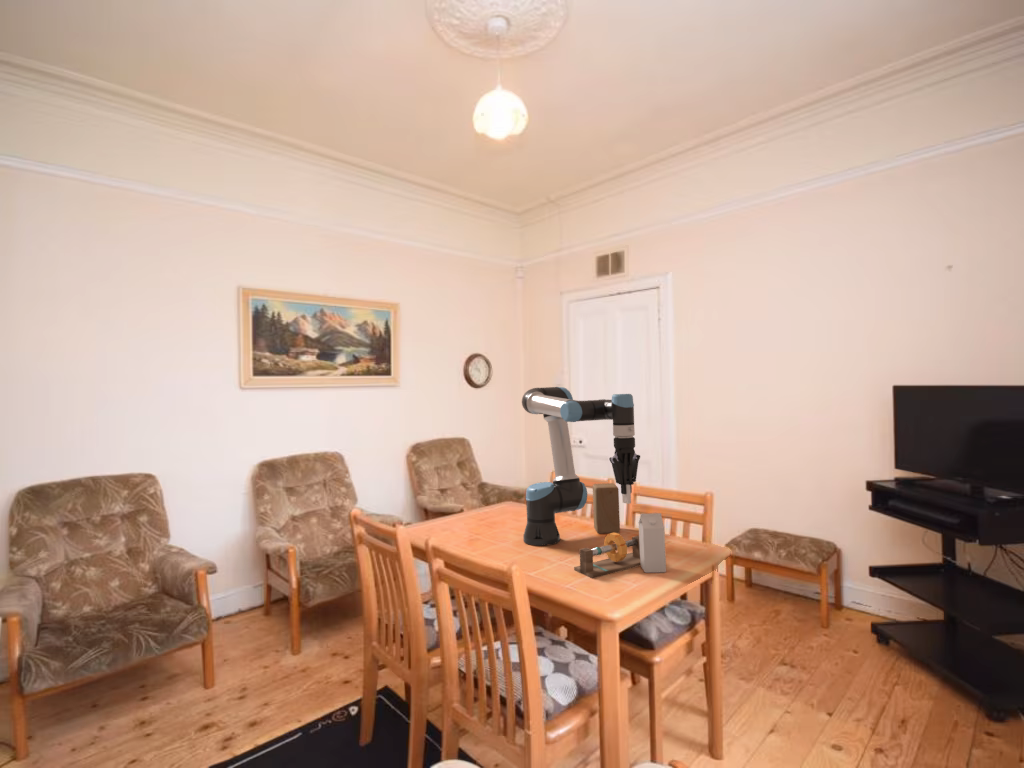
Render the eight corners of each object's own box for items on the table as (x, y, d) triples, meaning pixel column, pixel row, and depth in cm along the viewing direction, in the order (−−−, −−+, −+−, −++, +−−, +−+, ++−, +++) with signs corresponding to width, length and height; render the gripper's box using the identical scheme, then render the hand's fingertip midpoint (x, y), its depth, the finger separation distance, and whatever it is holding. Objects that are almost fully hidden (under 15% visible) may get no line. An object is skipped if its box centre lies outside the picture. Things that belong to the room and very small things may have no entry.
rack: (574, 570, 177) (573, 546, 177) (632, 555, 191) (631, 533, 191) (592, 578, 168) (592, 554, 168) (652, 562, 182) (651, 539, 182)
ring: (604, 557, 183) (603, 531, 184) (609, 556, 185) (608, 530, 185) (622, 564, 175) (621, 537, 176) (627, 563, 177) (626, 536, 177)
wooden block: (620, 533, 220) (618, 486, 220) (597, 534, 220) (595, 487, 220) (616, 527, 230) (614, 482, 230) (593, 528, 230) (592, 483, 230)
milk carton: (640, 566, 179) (638, 511, 179) (660, 565, 179) (658, 510, 179) (644, 573, 172) (642, 516, 172) (666, 572, 171) (664, 515, 172)
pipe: (583, 556, 175) (583, 549, 175) (635, 544, 187) (635, 537, 187) (588, 558, 172) (588, 551, 172) (641, 545, 184) (640, 538, 185)
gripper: (617, 438, 177) (620, 507, 177) (645, 436, 184) (647, 502, 183) (603, 437, 184) (605, 503, 183) (630, 435, 190) (632, 498, 190)
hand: (626, 502), depth 183 cm, fingers closed
